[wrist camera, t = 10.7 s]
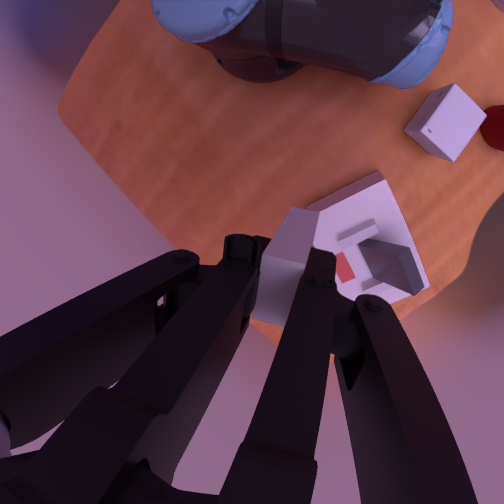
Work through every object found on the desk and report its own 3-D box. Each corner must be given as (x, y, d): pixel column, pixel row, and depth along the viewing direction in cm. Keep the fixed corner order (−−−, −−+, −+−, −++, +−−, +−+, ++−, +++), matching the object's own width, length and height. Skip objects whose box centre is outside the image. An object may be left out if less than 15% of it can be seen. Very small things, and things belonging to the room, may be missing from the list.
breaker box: (353, 292, 50) (353, 330, 41) (307, 205, 47) (297, 227, 38) (419, 264, 45) (434, 297, 36) (378, 170, 42) (388, 182, 33)
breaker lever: (370, 276, 39) (414, 295, 30) (354, 244, 38) (398, 255, 29) (379, 269, 39) (424, 287, 30) (364, 237, 38) (409, 247, 29)
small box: (430, 155, 39) (453, 164, 30) (401, 130, 39) (418, 131, 30) (459, 116, 35) (488, 115, 26) (431, 90, 35) (455, 81, 26)
